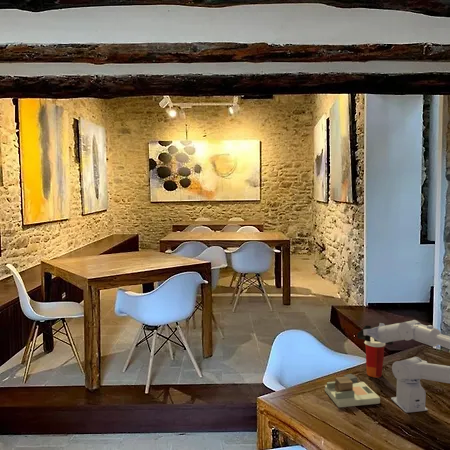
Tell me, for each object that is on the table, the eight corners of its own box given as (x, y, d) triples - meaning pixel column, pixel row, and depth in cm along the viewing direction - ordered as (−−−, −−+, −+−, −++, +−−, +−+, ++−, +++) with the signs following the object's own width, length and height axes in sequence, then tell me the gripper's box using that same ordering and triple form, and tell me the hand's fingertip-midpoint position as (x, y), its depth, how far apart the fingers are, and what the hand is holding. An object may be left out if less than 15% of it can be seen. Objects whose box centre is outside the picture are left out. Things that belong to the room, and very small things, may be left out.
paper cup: (381, 370, 175) (382, 336, 173) (386, 379, 167) (387, 344, 166) (361, 370, 176) (362, 336, 174) (365, 378, 168) (366, 343, 167)
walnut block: (352, 394, 152) (352, 382, 151) (340, 395, 151) (340, 383, 150) (346, 388, 156) (347, 376, 155) (335, 389, 155) (335, 377, 155)
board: (380, 403, 149) (380, 392, 149) (338, 407, 147) (338, 396, 147) (363, 387, 161) (363, 376, 161) (324, 390, 159) (324, 380, 158)
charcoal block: (357, 386, 162) (357, 377, 162) (349, 388, 161) (349, 379, 160) (350, 382, 165) (350, 373, 165) (343, 384, 164) (343, 375, 163)
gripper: (407, 324, 157) (381, 328, 169) (374, 318, 153) (350, 323, 165) (408, 344, 155) (382, 347, 167) (375, 339, 150) (350, 343, 162)
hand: (366, 337), depth 165 cm, fingers open, 7 cm apart
